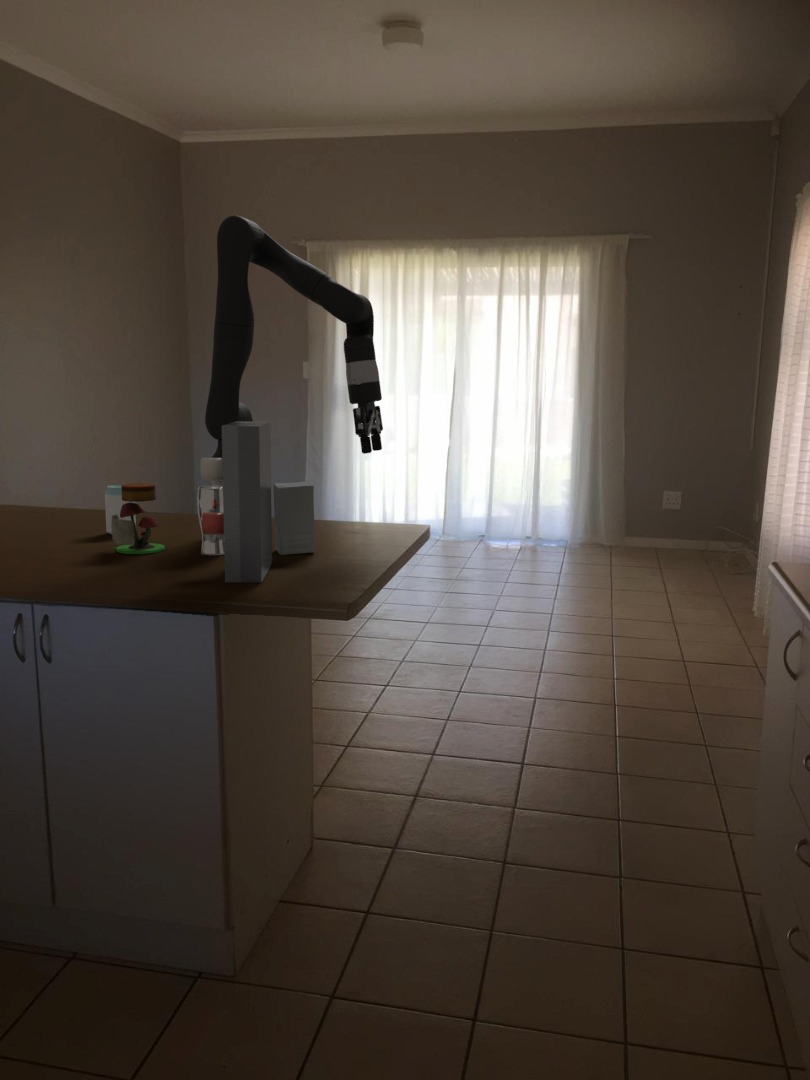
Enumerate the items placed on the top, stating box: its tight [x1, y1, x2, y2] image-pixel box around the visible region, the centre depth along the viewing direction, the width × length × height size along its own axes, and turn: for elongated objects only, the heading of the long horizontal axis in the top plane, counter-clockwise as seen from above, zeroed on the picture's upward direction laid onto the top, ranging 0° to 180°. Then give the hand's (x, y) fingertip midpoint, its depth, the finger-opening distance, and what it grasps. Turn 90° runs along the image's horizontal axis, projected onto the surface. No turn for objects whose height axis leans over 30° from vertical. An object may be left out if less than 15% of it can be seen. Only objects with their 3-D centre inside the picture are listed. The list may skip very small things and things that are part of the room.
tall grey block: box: [222, 421, 273, 584], centre depth 177 cm, size 7×18×30 cm, turn 2°
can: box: [104, 484, 137, 536], centre depth 221 cm, size 7×7×12 cm
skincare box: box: [273, 481, 316, 556], centre depth 200 cm, size 8×7×16 cm
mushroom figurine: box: [111, 482, 166, 555], centre depth 200 cm, size 12×13×15 cm
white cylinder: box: [199, 457, 223, 481], centre depth 176 cm, size 5×4×4 cm
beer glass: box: [196, 484, 224, 557], centre depth 198 cm, size 7×7×15 cm
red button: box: [201, 513, 224, 535], centre depth 178 cm, size 5×4×4 cm
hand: (372, 451), depth 207 cm, fingers open, 8 cm apart
